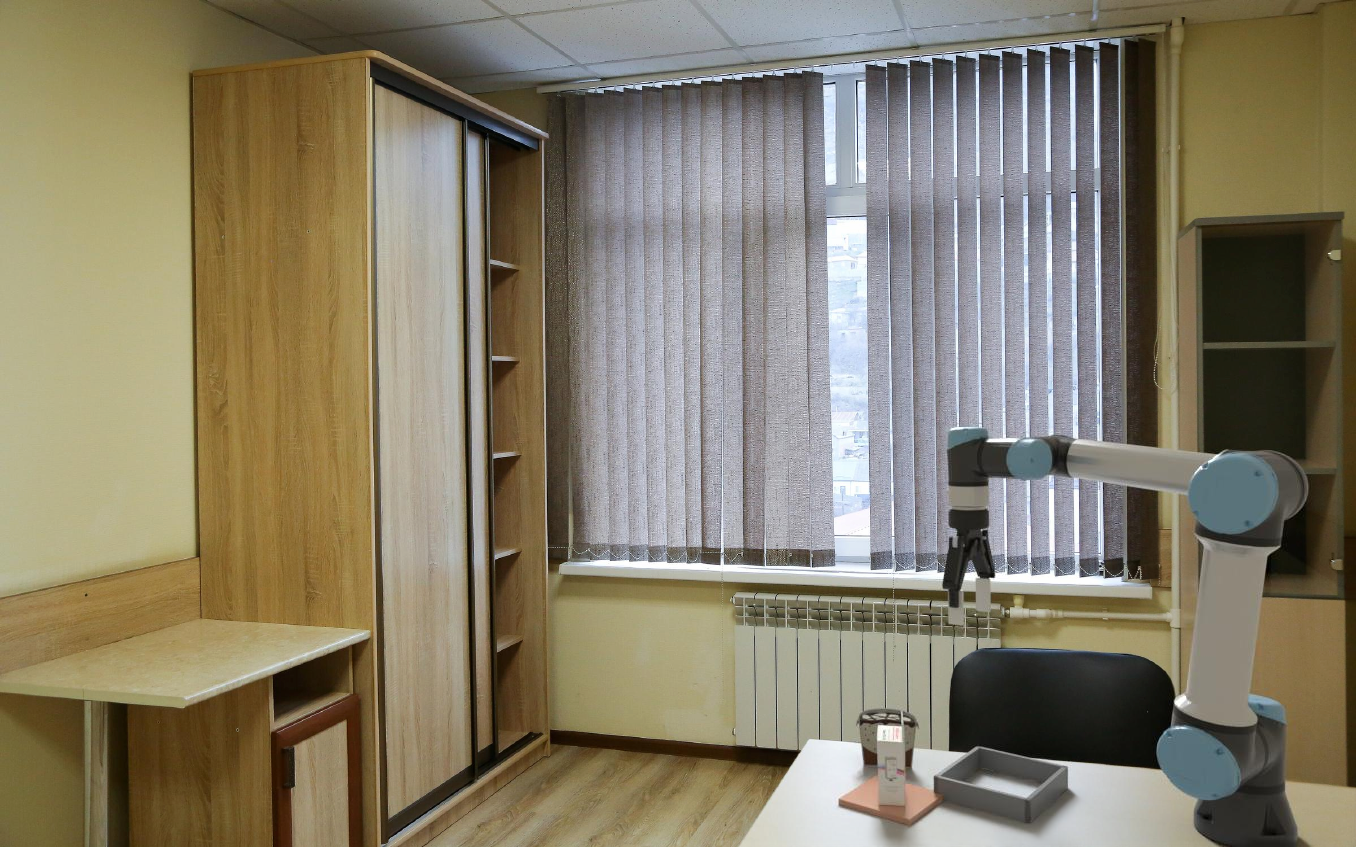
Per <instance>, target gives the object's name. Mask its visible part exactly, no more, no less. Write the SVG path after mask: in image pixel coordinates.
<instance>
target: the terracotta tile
mask: <svg viewBox="0 0 1356 847" xmlns="http://www.w3.org/2000/svg"><path fill="white" fill-rule="evenodd" d="M942 801H943V802H944V800H943V795H942V794H938V793H934V789H930V788H926V787H922V786H919V785H914V784H911V783H907V782H905V806H892V805H879V790H878V774H877V775H876V774H875V775H873V777H871V778H869V779H867V780H866V781H864V782H862V784H860V785H858V786H857V787H855V788H854V789H852V790H850V791H849V792H846V793H845V794H844V795H842V796H840V797H839V798H838V805H839V806H842V807H846V808H849V809H853V810H856V811H860V812H863V813H867V814H870V815H874V816H877V817H880V818H884V819H886V820H889V821H890V820H891V821H895V822H897V823H901V824H904V825H907V826H910V825H912V824H913V823H915V822H916V821H917V820H919V819H920V818H921V817H923V816H924V815H925V814H927V813H928V812H929V811H930V810H932V809H933V808H935V807H936V806H937V805H939V804H940V803H941V802H942Z"/></svg>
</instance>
